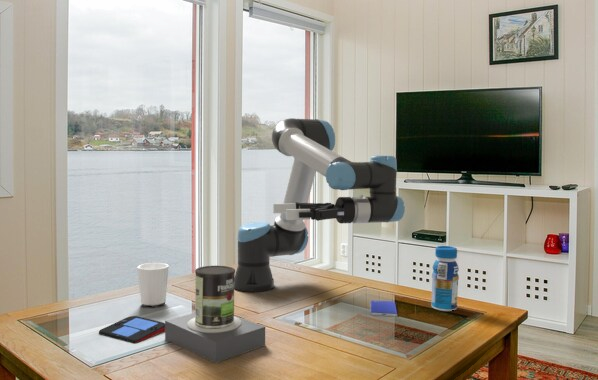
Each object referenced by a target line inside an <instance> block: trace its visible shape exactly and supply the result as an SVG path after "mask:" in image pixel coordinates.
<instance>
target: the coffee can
mask: <svg viewBox="0 0 598 380" xmlns="http://www.w3.org/2000/svg"><path fill="white" fill-rule="evenodd" d="M194 273H195V304H194V305H195V306H194V307H195V308H194V309H195V312H194V313H195V324H196V325H197V326H199V327H202V328H208V329H218V328H224V327H228V326H230V325H232V324H233V323H234V316H235V313H234V312H235V289H234V278H235V274H236V269H235V268H234V267H230V266H226V265H206V266H200V267H198V268H195V271H194Z"/></svg>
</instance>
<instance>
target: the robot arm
mask: <svg viewBox="0 0 598 380" xmlns="http://www.w3.org/2000/svg"><path fill="white" fill-rule="evenodd" d="M271 142H272V144H273V147H274V148H275V150H277V151H278V152H279V153H281V154H282V155H284V156H286V157H293V164H292V168H291V172H290V175H289V179H288V184H287V187H286V191H285V196H284V200H283V203H273V204H272V205H273V206H272V208H273V209H272V210H273V211H272V212H273V214H279V215H277V216H275V219H274V222H273V224H272V225H270V223H269V222H267V221H256V222H250V223H245V224H243V225H241V226H240V227H239V228H238V232H237V233H238V234H237V268H236V270H235V278H234V290H237V291H240V292H251V293H254V292H255V293H257V292H264V291H269V290H272V289H274V287H275V280H274V277H273V273H272V269H271V266H270V258H271V257H281V256H293V255H296V254H300V253H302V252H303V251H304V250H305V249H306V247H307V245H308V243H309V236H308V234H309V231H308V229H307V226H306V223H305V221H304V220H312V221H314V220H315V221H324V220H333V219H336V221H337V222H338V223H339V224H366V223H367V224H368V223H392V222H393V223H394V222H398V221H400V220H402V219H403V217H404V216H405V210H406V208H405V205H404V204H405V202H404V200H403V198H402V197H401V196H397V192H396V191H397V173H398V169H397V168H398V166H397V164H398V163H397V162H398V161H397V158H396V156H394V155H372V156H371V157H370V160H369V161H362V162H361V161H359V162H358V161H357V162H356V161H355V162H354V161H351V160H349V159H347V158H345V157H344V156H342V155H340V154H338V153H336V152H334V151H333V150H334V149H335V145H336V135H335V131H334V128H333V126H332V125H331V123H330V122H328V121H327V120H325V119H324V120H323V119H317V118H315V119H311V118H310V119H308V118H294V117H293V118H285V119H283V120H280V122H278V123H277V124H276V125H275V127H274V128H273V130H272V133H271ZM316 173H319V174H320V175H321V176H323V177H325V180H326V183H327V184H328V187H329V188H330V189H332V190H336V191H337V190H338V191H339V190H340V191H348V190H362V189H363V190H364V189H366V190H369V196H364V195H363V194H359V195H358V196H352V197H351V196H339V197H337V198H336V201H335V203H332V202H323V203H322V202H320V203H318V202H317V203H316V202H308V201H309V198H310V195H311V191H312V186H313V183H314V180H315V176H316Z"/></svg>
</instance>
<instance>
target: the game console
mask: <svg viewBox="0 0 598 380" xmlns="http://www.w3.org/2000/svg"><path fill="white" fill-rule="evenodd" d="M163 332H164V333H165V322H163V321H160V320H155V319H151V318H147V317H142V316H137V315H131V316H127V317H125V318H123V319H121V320H118V321H116V322H114V323H112V324H110V325H108V326H105V327H103V328H101V329H100V330H99V331H98V334H99V335H102V336H106V337H108V338H113V339H117V340H120V341H125V342H126V343H127V342H128V343H131V344H136V343H137V344H138V343H140V342H142V341H144V340H147V339H149V338H151V337H154V336H156V335H159V334H160V333H163Z"/></svg>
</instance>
